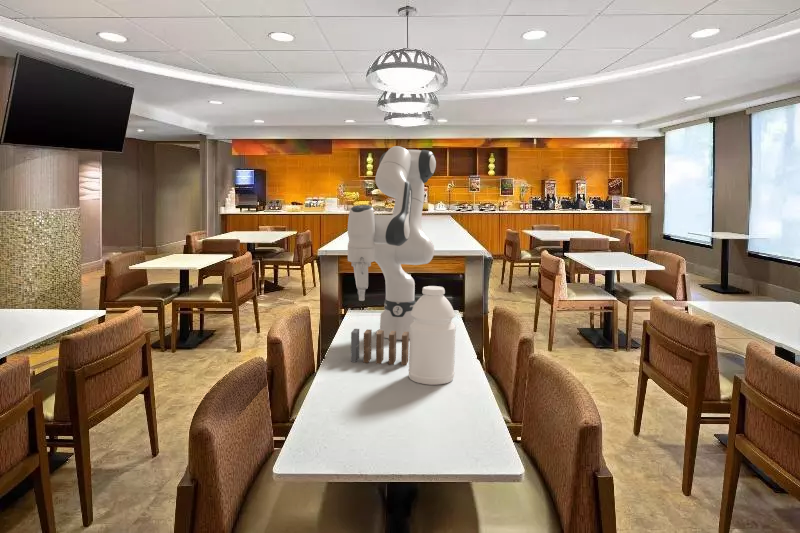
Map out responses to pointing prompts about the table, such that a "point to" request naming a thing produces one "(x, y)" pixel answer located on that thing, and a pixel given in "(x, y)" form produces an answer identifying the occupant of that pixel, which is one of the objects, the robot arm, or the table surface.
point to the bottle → (432, 338)
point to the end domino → (354, 345)
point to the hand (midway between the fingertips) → (361, 297)
